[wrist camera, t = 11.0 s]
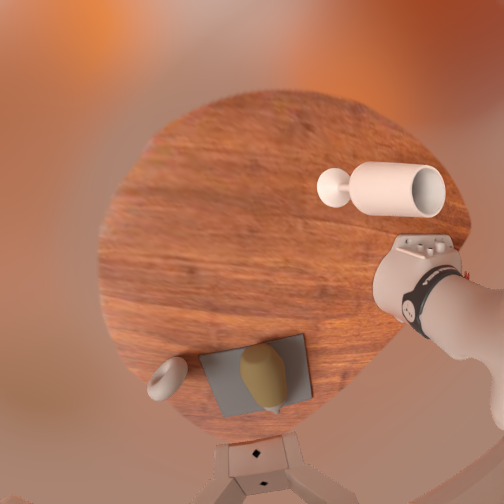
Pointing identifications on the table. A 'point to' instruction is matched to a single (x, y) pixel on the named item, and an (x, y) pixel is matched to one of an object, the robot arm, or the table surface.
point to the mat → (234, 389)
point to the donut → (167, 379)
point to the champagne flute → (385, 189)
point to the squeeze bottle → (264, 376)
